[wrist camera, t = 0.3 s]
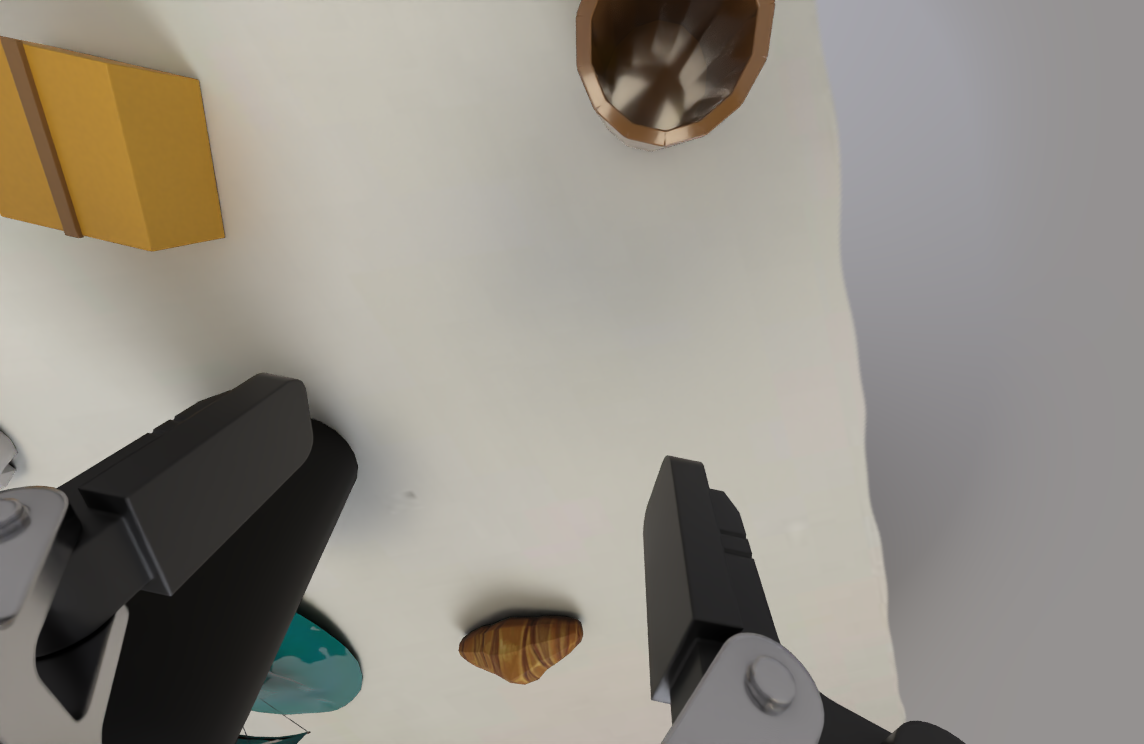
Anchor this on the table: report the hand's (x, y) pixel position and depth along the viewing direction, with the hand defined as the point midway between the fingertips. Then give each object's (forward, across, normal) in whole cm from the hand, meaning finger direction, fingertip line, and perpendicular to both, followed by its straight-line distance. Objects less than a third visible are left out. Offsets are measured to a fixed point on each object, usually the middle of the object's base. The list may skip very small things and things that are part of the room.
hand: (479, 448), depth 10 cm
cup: (+20, -3, -9) cm, 22 cm away
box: (+20, +28, -1) cm, 34 cm away
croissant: (+18, -1, +38) cm, 42 cm away
